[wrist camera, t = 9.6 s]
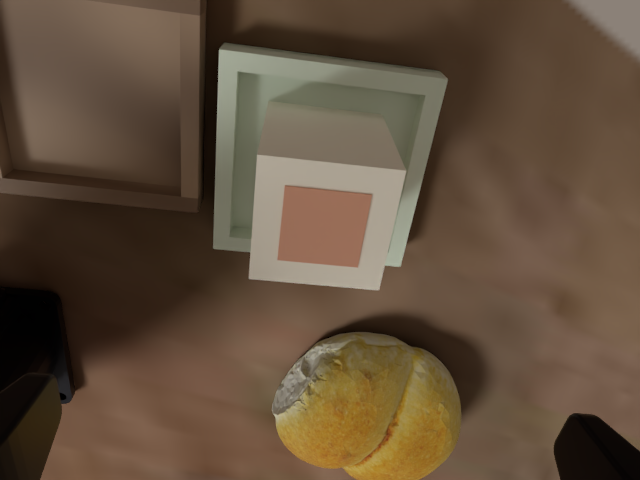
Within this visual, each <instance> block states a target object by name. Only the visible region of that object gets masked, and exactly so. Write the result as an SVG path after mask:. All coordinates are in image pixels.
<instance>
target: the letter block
mask: <svg viewBox="0 0 640 480" xmlns="http://www.w3.org/2000/svg"><path fill="white" fill-rule="evenodd" d="M405 175H406V169H405V166H404V164H403V162H402V159H401V157H400V155H399V152H398V150H397V148H396V145H395V143H394V141H393V138H392V136H391V134H390V132H389V129H388V127H387V125H386V122H385V120H384V118H383V115H382V114H375V113H366V112H358V111H349V110H341V109H332V108H324V107H315V106H307V105H298V104H290V103H282V102H273V101H268V106H267V110H266V115H265V120H264V125H263V129H262V134H261V139H260V143H259V148H258V153H257V164H256V178H255V193H254V208H253V223H252V237H251V252H250V267H249V279H254V280H266V281H277V282H288V283H300V284H311V285H323V286H334V287H346V288H357V289H369V290H379V288H380V284H381V279H382V275H383V271H384V266H385V262H386V258H387V253H388V249H389V245H390V240H391V236H392V231H393V227H394V223H395V218H396V214H397V210H398V205H399V201H400V197H401V192H402V188H403V183H404V179H405Z"/></svg>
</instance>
